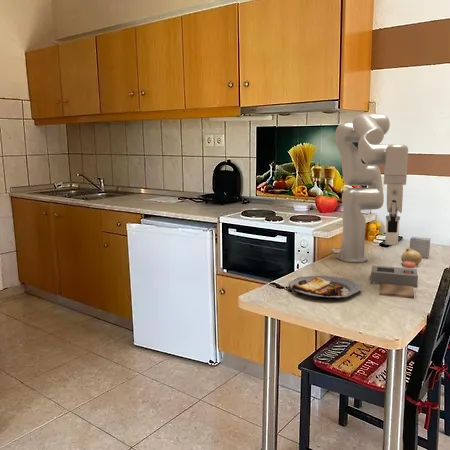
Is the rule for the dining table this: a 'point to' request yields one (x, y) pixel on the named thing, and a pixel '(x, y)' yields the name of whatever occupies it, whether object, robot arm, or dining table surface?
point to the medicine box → (420, 245)
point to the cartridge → (391, 233)
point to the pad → (396, 290)
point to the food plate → (324, 286)
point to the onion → (411, 256)
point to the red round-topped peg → (408, 265)
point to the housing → (394, 276)
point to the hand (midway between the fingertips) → (392, 230)
